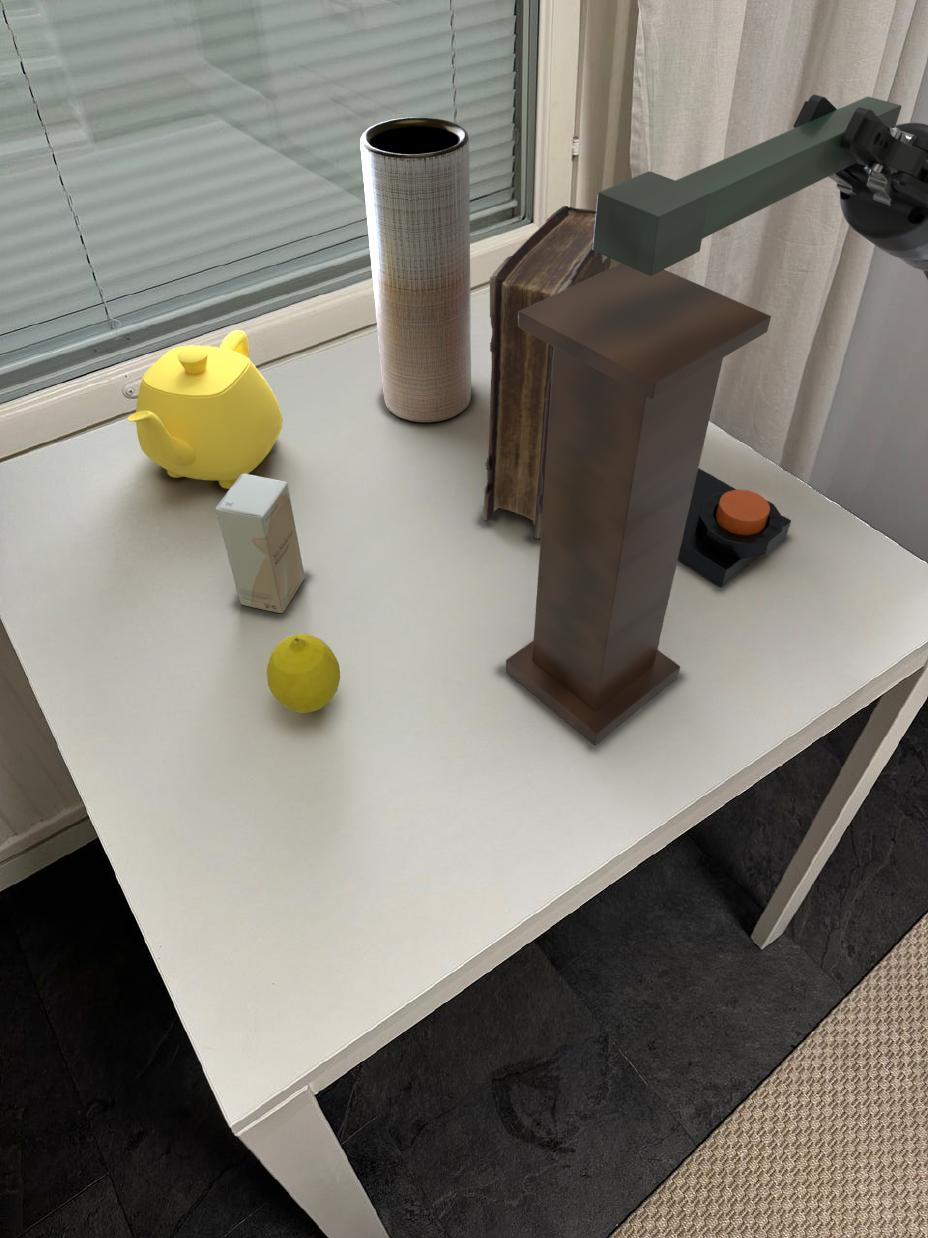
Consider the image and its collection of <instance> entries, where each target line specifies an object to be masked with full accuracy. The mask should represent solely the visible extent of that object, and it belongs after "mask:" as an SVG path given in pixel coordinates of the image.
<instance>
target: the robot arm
mask: <svg viewBox="0 0 928 1238" xmlns="http://www.w3.org/2000/svg"><path fill="white" fill-rule="evenodd" d="M835 110H838V108H837V107H836V106H835V105H833V103H831V101H829V100H828V98H826V97H825V96H822V95H818V94H812V95H811V96H810V97H809V99H808V100H805V101H804V102H803V105H802V107H801V109H800V111H799V112H798V115H797V118H796V119H795V121H794V123H793V129H794V128H797V127H799V126H801V125H803V124H806V123H808V122H810V121H812V120H815V119H817V118H819V117H822V116H824V115H826V114H828V113H831V112H833V111H835ZM840 147H841V148H842V149H843V150H844V151H845V152H846V153H847V154H848V155H850V156H851V157H852V158H853V159H854V160H855V161H856V162H857V163H855V164H853V165H851V166H849V167H847V168H845V169H843V170H841V171H839V172H837V173H835V174H833V175H831V176H828V177H827V178H830V179H831V180H833V182H835V183H836V188H837V189H838V190H839V204H840V209H841V212H842V215H843V217H844V219H845V221H846V222H847V224H848V225H849V226H850V227H851V228H852V230H854V231H855V232H856V233H858V234H859V235H860V236H862V237H863V238H865V239H866V240H867V241H869V242H870V243H872V244H873V245H874V246H875V247H877V249H880V250H881V251H882V252H884V253H886V254H888V255H889V256H893V257H895V258H899V259H900V260H901V261H902V262H904V263H905V264H907V265H909V266H910V267H912V268H914V269H917V270H920V271H922V272H923V274H924V276H925V278H926V280H927V281H928V124H926V123H923V122H922V123H921V122H906V123H901V124H896V126H895V127H892V128H891V127H886V125H885V124H884V123H883V122H882V121H881V120H880V119H879V118H878V117H877V116H876V115H875V113H874V112H873V111H872V110H869V109H866V108H862V107H858V108H857V109H856V110H855V112H854V114H853V116H852V118H851V120H850V122H849V124H848V126H847V128H846V130H845V132H844V135H843V137H842V139H841V143H840Z"/></svg>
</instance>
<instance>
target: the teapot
mask: <svg viewBox="0 0 928 1238" xmlns="http://www.w3.org/2000/svg"><path fill="white" fill-rule="evenodd" d="M138 390H139V391H138V394H137V401H136V407H135V412H134V413H132V414H130V415H129V416H128V417H127V418H126V420H127V421H128V422H133V423H135V425H136V434H137V438H138V439H137V440H138V442H139V447H140V448H141V451H142V452H143V453H144V454H145V456H147V458H148V459H149V460H151V461H152V462H153V463H155V464H156V465H158V466H159V467H161V468H162V469H165V470H166V471H167V475H168V476H169V477H172V478H183V477H185V478H188V479H193V480H202V481H218V484H219V486H220V487H221V488H223V489H227V490H230V488H231V487H232V486H233V485H234V483H235V482H236V481H237V480H238V478H239V477H240V476H241V475H242V474H250V473H251V472H252V471H254V470H255V469H256V468H257V467H258V466H259V465H260V464H261V463H262V462H263V461H264V460H265V458H266V457H267V456H268V454H269V453H270V451H272V448H273V447H274V445H275V443H276V442H277V440H278V437H279V435H280V433H281V430H282V428H283V422H284V421H283V420H284V419H283V415H282V411H281V407H280V405H279V402H278V400H277V397H276V395H275V392H274V391H273V389H272V387H271V385H270V384H269V382H268V381H267V380H266V379H265V376H263V374H262V373H261V371H260V370H259V369H258V368H257V367H256V365H255V363H253V362H252V361H251V359H250V342H249V338H248V335H247V333H246V332H245V331H243V330H240V329H235V330H233V331H230V332H229V333H228V334H227V335H226V336H225V337H224V339H223V340H222V342H221V344H220V345H219V346H213V345H201V344H200V345H199V344H189V345H181V346H177V347H173V348H172V349H170V350H168V351H166V352H165V353H164V354H163V355H162V356H161V357H159V358H158V359H157V360H156V361H155V362H154V363H153V364H152V365H151V366H150V367H149V368H148V370H146V371H145V373H144V374H143V376H142V378H141V381H140V384H139V389H138Z"/></svg>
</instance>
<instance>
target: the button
mask: <svg viewBox="0 0 928 1238" xmlns="http://www.w3.org/2000/svg"><path fill="white" fill-rule="evenodd" d="M767 501H768V499H766V498H765V497H764V496H762V494H759V493H757V492H755V491H752V490H749V489H737V490H732V491H729V492H726V493H725V494H724V495H723V496H722V497H721V498H720V501H719V505H718V509H717V513H716V520H717V522H718V524H719V525H720V526H721V527H722V528H724V529H726V530H727V531H729V532H731V533H736V534H741V535H752V534H757V533H759V532H760V531H762V530H763V528H764V527H765V524H766V521H767V518H768V514H769V511H770V506H769V503H768V502H767Z"/></svg>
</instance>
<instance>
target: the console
mask: <svg viewBox="0 0 928 1238" xmlns="http://www.w3.org/2000/svg"><path fill="white" fill-rule="evenodd" d="M732 490H738V489H737V488H735V487H733V486H731V485H730V484H728V483H726V482H724V481H722V480H721V479H719V478H718V477H716V476H715V475H712V474H710V473H709V472H707V471H705V470H704V469H702V468H700V467H698V472H697V476H696V480H695V485H694V489H693V494H692V498H691V503H690V507H689V512H688V516H687V520H686V525H685V529H684V534H683V538H682V543H681V547H680V551H679V556H678V560H677V562H680V563H681V564H683V565H685V566H686V567H688V568H689V569H691V570H692V571H694V572H695V573H697V574H698V575H700V576H701V577H703V578H705V579H706V580H708V581H709V582H711V583H712V584H714V585H715V586H717V587H718V588H723V587H724V586H725V585H727V584H728V583H729V582H730V581H732V580H733V579H734V578H736V577H737V576H739V575H740V574H741V573H742V572H744V571H745V570H746V569H747V568H749V567H750V566H751V565H753V564H754V563H755V562H756V561H758V560H759V559H760V558H762V557H765V556H766V555H767V554H769V553H770V552H771V551H772V550H774V549H775V548H776V547H777V546H778V545H779V544H780V543H781V542H783V541H784V540H785V539H786V538H787V536H788V532H789V530H790V526H791V524H792V520H791V519H790V518H788V517H786V516H784V515H782V513H781V512H780V511H779V509H778V508H777V506H776V505H775V504H774V503H773V502H771V501H769V500H767V502H768V503H769V506H770V511H769V514H768V518H767V521H766V524H765V527H764V528H763V530H762V531H760V532H759V533H757V534H752V535H741V534H736V533H731V532H729V531H727V530H726V529H724V528H722V527H721V526H720V525H719V524H718V522H717V520H716V513H717V509H718V505H719V501H720V498H721V497H722V496H723V495H724V494H725V493H726V492H729V491H732Z"/></svg>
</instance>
